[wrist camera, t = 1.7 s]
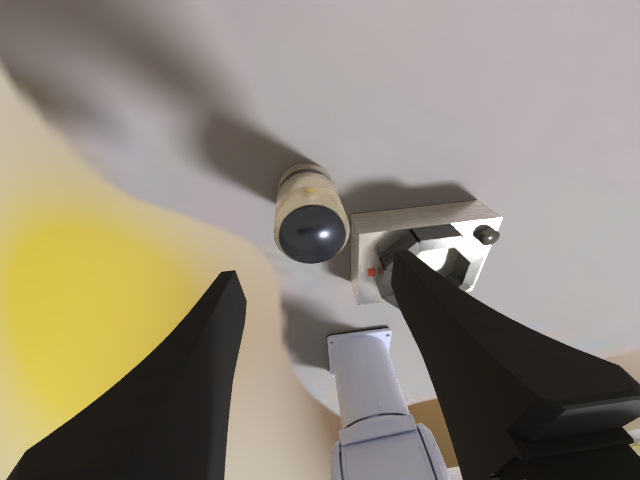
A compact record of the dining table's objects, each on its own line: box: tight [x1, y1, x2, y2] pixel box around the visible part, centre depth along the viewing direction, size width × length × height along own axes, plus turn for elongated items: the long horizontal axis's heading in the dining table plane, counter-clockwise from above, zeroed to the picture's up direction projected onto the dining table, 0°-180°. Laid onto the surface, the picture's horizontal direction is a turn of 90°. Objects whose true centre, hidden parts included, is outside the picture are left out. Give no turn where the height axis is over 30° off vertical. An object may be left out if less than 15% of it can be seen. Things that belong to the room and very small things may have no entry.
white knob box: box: [351, 200, 502, 309], centre depth 21 cm, size 8×11×4 cm
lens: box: [274, 163, 350, 264], centre depth 17 cm, size 4×4×6 cm
